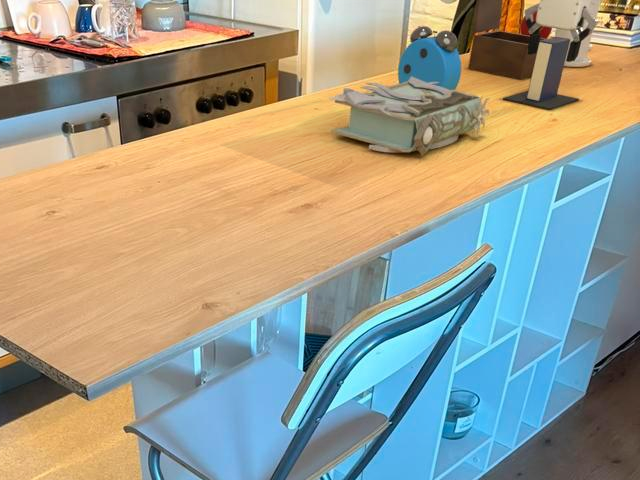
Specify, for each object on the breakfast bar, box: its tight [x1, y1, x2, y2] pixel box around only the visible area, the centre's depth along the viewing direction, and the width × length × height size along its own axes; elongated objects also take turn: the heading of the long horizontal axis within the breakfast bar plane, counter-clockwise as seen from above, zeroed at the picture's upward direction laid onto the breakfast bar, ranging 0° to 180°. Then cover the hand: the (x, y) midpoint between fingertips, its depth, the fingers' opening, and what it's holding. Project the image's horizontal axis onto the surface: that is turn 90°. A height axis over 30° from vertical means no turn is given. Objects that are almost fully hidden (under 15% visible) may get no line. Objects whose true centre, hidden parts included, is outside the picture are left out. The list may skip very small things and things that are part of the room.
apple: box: [520, 11, 553, 39], centre depth 243 cm, size 9×9×10 cm
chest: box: [467, 29, 544, 81], centre depth 211 cm, size 16×12×8 cm
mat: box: [502, 90, 580, 111], centre depth 190 cm, size 14×12×1 cm
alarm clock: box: [397, 25, 462, 90], centre depth 178 cm, size 13×6×15 cm, turn 43°
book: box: [526, 37, 570, 102], centre depth 186 cm, size 8×4×12 cm, turn 136°
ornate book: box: [327, 76, 491, 157], centre depth 160 cm, size 23×10×30 cm
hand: (551, 57), depth 184 cm, fingers open, 9 cm apart
